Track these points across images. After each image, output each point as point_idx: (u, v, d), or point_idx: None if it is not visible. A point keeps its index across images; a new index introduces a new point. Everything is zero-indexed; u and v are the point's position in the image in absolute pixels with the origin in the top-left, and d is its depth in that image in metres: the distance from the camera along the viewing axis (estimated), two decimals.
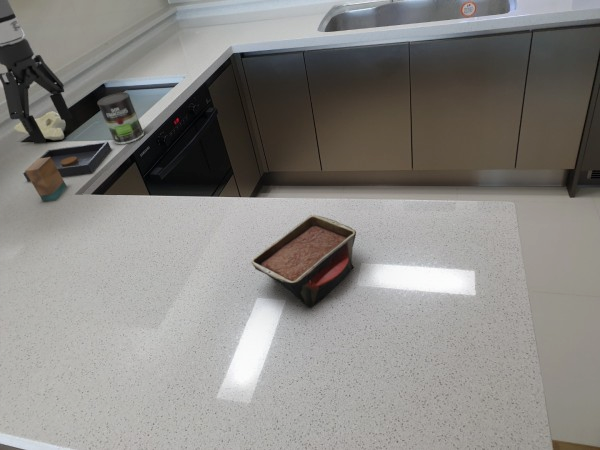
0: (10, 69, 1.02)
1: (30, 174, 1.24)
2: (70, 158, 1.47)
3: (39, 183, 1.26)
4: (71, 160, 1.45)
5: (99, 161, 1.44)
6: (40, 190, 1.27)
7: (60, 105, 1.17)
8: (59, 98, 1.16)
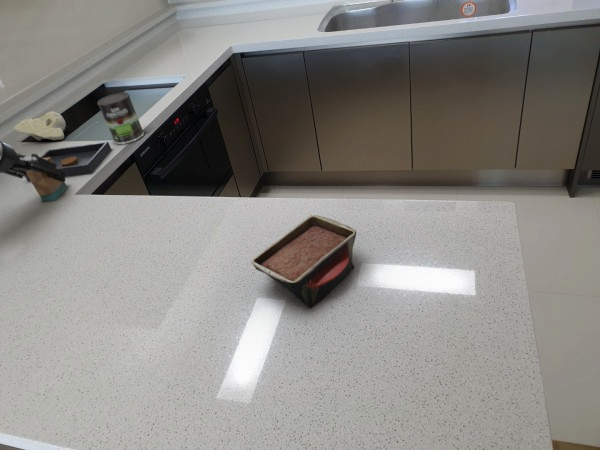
0: None
1: (30, 174, 1.24)
2: (70, 158, 1.47)
3: (39, 183, 1.26)
4: (71, 160, 1.45)
5: (99, 161, 1.44)
6: (40, 190, 1.27)
7: None
8: None
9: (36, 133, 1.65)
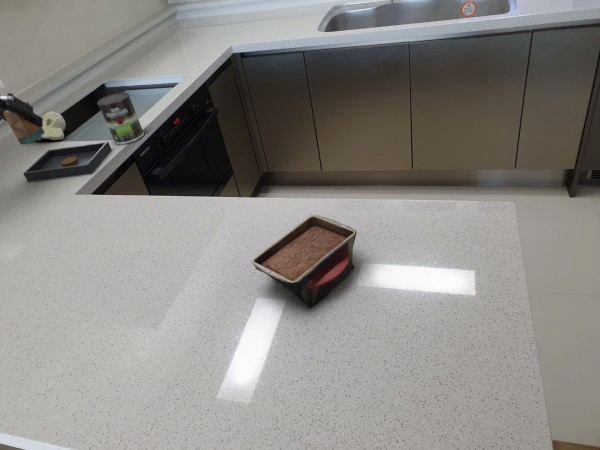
0: None
1: (7, 116, 1.30)
2: (70, 158, 1.47)
3: (17, 126, 1.32)
4: (71, 160, 1.45)
5: (99, 161, 1.44)
6: (18, 133, 1.33)
7: None
8: None
9: None
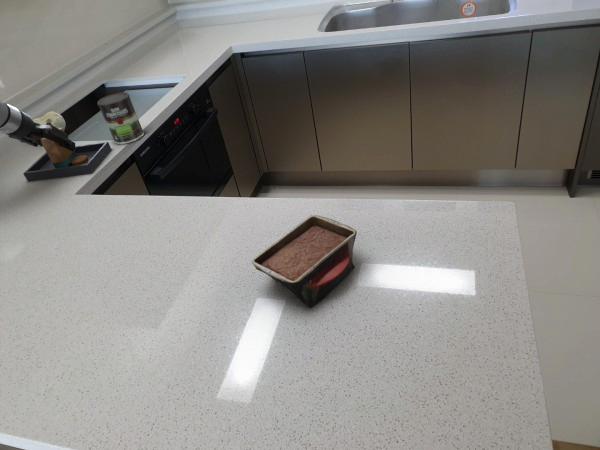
0: None
1: (44, 142, 1.39)
2: (80, 157, 1.46)
3: (52, 151, 1.40)
4: (81, 159, 1.45)
5: (99, 161, 1.44)
6: (53, 158, 1.42)
7: None
8: None
9: None
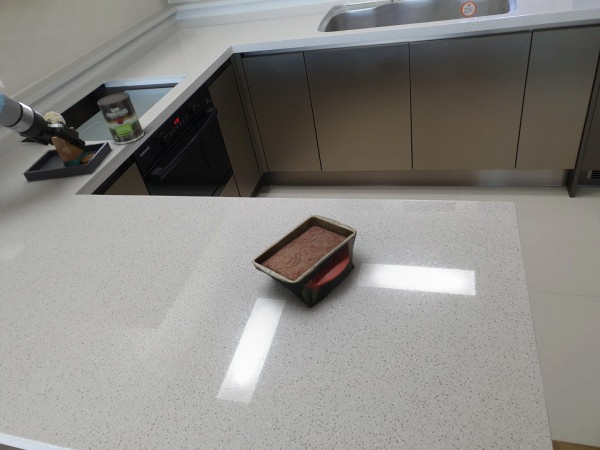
0: None
1: (55, 141, 1.38)
2: (90, 155, 1.46)
3: (63, 150, 1.40)
4: (91, 157, 1.44)
5: (99, 161, 1.44)
6: (63, 156, 1.41)
7: None
8: None
9: None
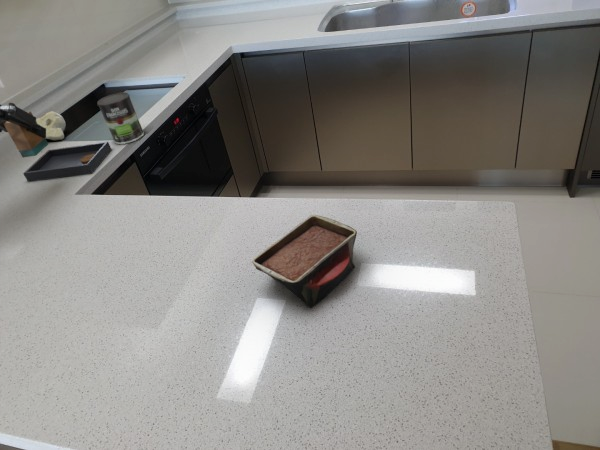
0: None
1: (8, 127, 1.21)
2: (90, 155, 1.46)
3: (18, 137, 1.23)
4: (91, 157, 1.44)
5: (99, 161, 1.44)
6: (19, 145, 1.24)
7: None
8: None
9: None
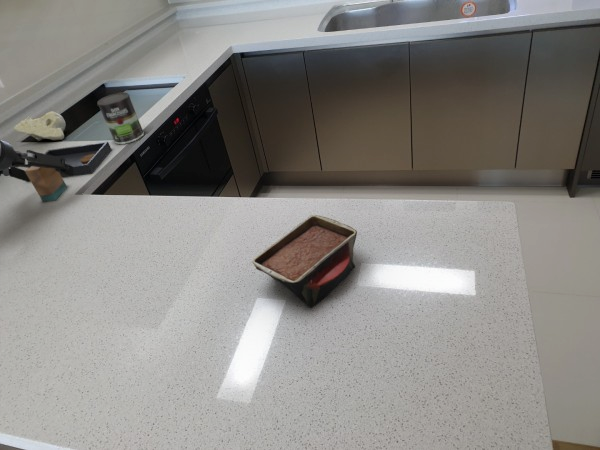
0: None
1: (30, 174, 1.24)
2: (90, 155, 1.46)
3: (39, 183, 1.26)
4: (91, 157, 1.44)
5: (99, 161, 1.44)
6: (40, 190, 1.27)
7: None
8: None
9: (36, 133, 1.65)
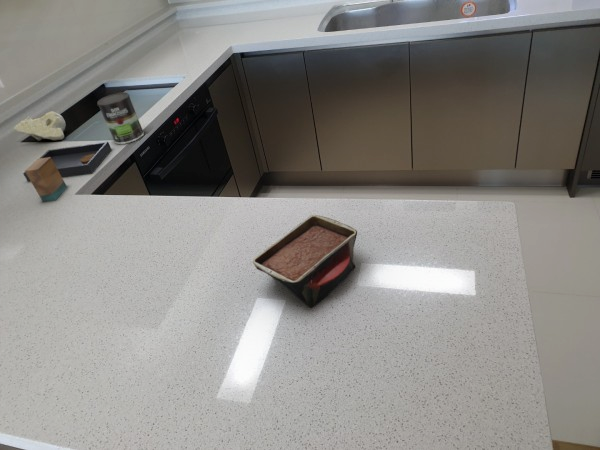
0: None
1: (30, 174, 1.24)
2: (90, 155, 1.46)
3: (39, 183, 1.26)
4: (91, 157, 1.44)
5: (99, 161, 1.44)
6: (40, 190, 1.27)
7: None
8: None
9: (36, 133, 1.65)
